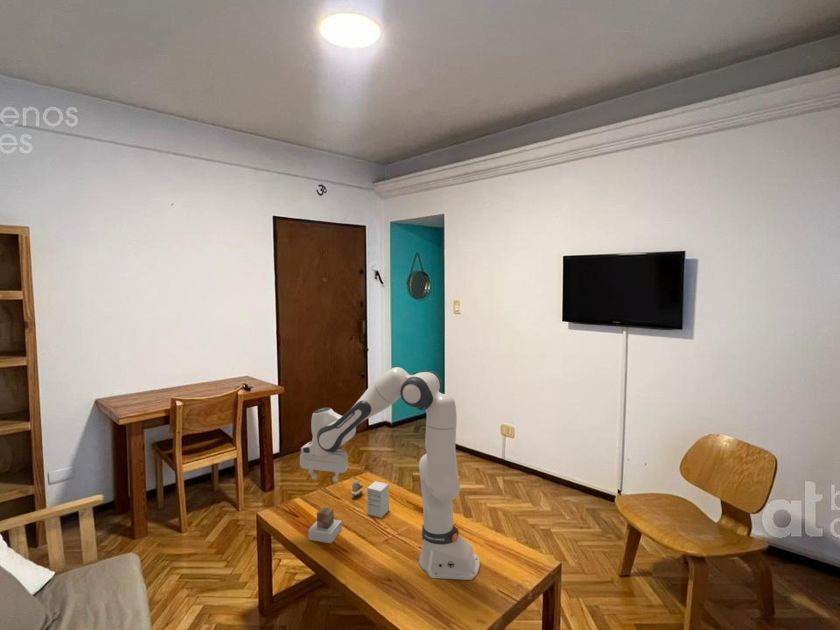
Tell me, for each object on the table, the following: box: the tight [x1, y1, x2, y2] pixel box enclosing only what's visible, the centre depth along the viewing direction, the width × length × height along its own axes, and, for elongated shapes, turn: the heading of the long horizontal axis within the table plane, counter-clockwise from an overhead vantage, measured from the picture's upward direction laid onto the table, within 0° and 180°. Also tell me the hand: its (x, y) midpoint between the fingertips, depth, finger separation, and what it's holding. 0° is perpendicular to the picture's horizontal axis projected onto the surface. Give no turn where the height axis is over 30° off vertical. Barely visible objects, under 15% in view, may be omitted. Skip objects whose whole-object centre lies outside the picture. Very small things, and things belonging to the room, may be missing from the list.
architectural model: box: [350, 479, 366, 499], centre depth 217 cm, size 3×7×7 cm, turn 149°
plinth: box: [307, 519, 343, 544], centre depth 186 cm, size 10×10×4 cm
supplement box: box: [366, 480, 390, 519], centre depth 203 cm, size 7×7×13 cm
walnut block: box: [316, 506, 335, 529], centre depth 185 cm, size 5×5×6 cm
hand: (324, 480), depth 184 cm, fingers open, 8 cm apart
